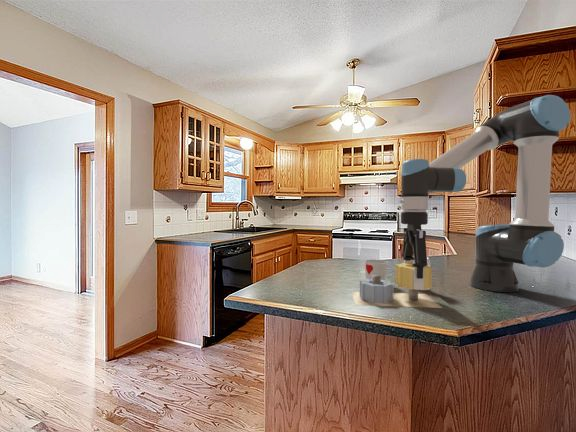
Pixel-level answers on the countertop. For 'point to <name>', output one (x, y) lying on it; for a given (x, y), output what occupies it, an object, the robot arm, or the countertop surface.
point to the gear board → (399, 298)
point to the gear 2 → (411, 276)
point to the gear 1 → (376, 291)
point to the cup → (376, 268)
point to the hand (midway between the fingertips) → (413, 284)
